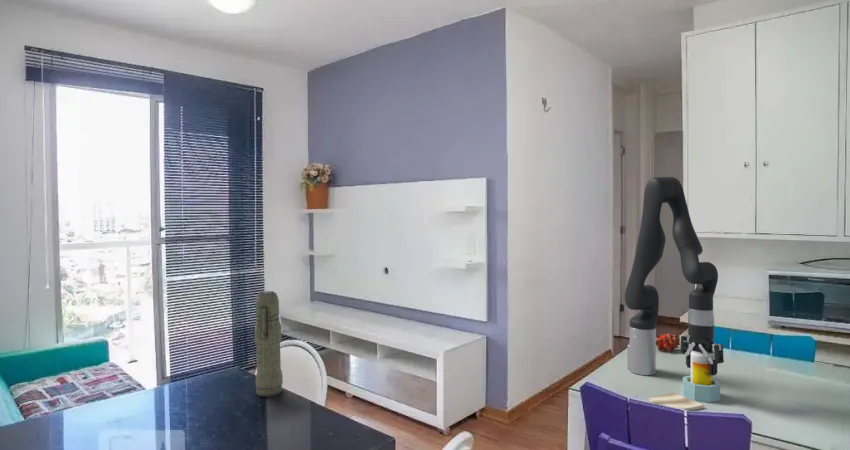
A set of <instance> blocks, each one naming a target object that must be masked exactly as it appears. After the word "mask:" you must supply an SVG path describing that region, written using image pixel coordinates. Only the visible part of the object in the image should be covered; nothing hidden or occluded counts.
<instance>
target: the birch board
mask: <svg viewBox="0 0 850 450" xmlns="http://www.w3.org/2000/svg"><path fill="white" fill-rule="evenodd" d="M648 402H651V403H653V404H655V403H656V404H655V405H657V404H661V405H665V406H670V407H675V408H681V409H685V410H692V411H697V410H701V409H704V408H705V407H704V404H703V403H700V402H699V401H695V400H693V399H690V398H688V397H685V396H684V395H680V394H678V393H676V392H672V393H666V394H661V395H656V396H651V397H648Z"/></svg>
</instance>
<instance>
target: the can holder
mask: <svg viewBox="0 0 850 450" xmlns="http://www.w3.org/2000/svg"><path fill="white" fill-rule="evenodd" d="M682 396H683V397H686V398H688V399H690V400H693V401H695V402H702V403H703V402H704V403H715V402H719V401H721V384H720V382H719V381H718V380H717V379H714V378H712V385H709V386H707V385H698V384H694V383H692V382H691V375H686V376H682Z"/></svg>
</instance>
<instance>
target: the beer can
mask: <svg viewBox="0 0 850 450" xmlns="http://www.w3.org/2000/svg"><path fill="white" fill-rule="evenodd" d="M709 354H711V353H710V352H709ZM709 364H711V363H710V362H709V360H708V358H706V357H705V355H704V353H699V352H696V351H694V350H692V352H691V368H690V376H691V382H692V383H694V384H698V385H707V386H709V385H712V379H713V378H712V377H713V376H712V375H710V370H709Z"/></svg>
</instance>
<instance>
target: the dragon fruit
mask: <svg viewBox="0 0 850 450" xmlns="http://www.w3.org/2000/svg"><path fill="white" fill-rule="evenodd" d="M680 346H681V337H680V338H679V336H678V335H677V334H671V333H670V332H667V333H665V332H662V333H661V334H659V335H656V350H658V351H662V352H663V351H668V352H669V353H671V352H673V351H675V350H676V349H679V348H680Z"/></svg>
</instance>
